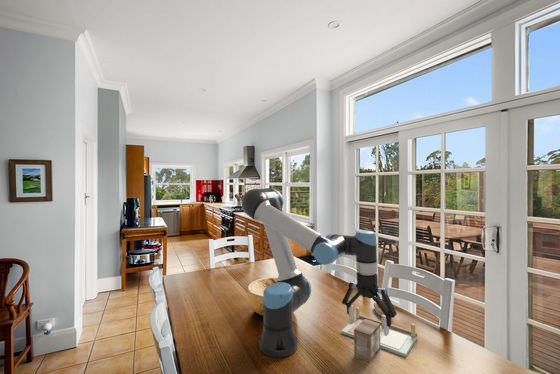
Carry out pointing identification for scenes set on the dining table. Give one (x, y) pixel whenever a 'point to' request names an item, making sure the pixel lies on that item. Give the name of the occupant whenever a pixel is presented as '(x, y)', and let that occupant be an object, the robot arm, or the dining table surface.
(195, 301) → the dining table surface
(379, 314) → the stone
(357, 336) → the frame block
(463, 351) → the dining table surface
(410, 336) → the ledge board
